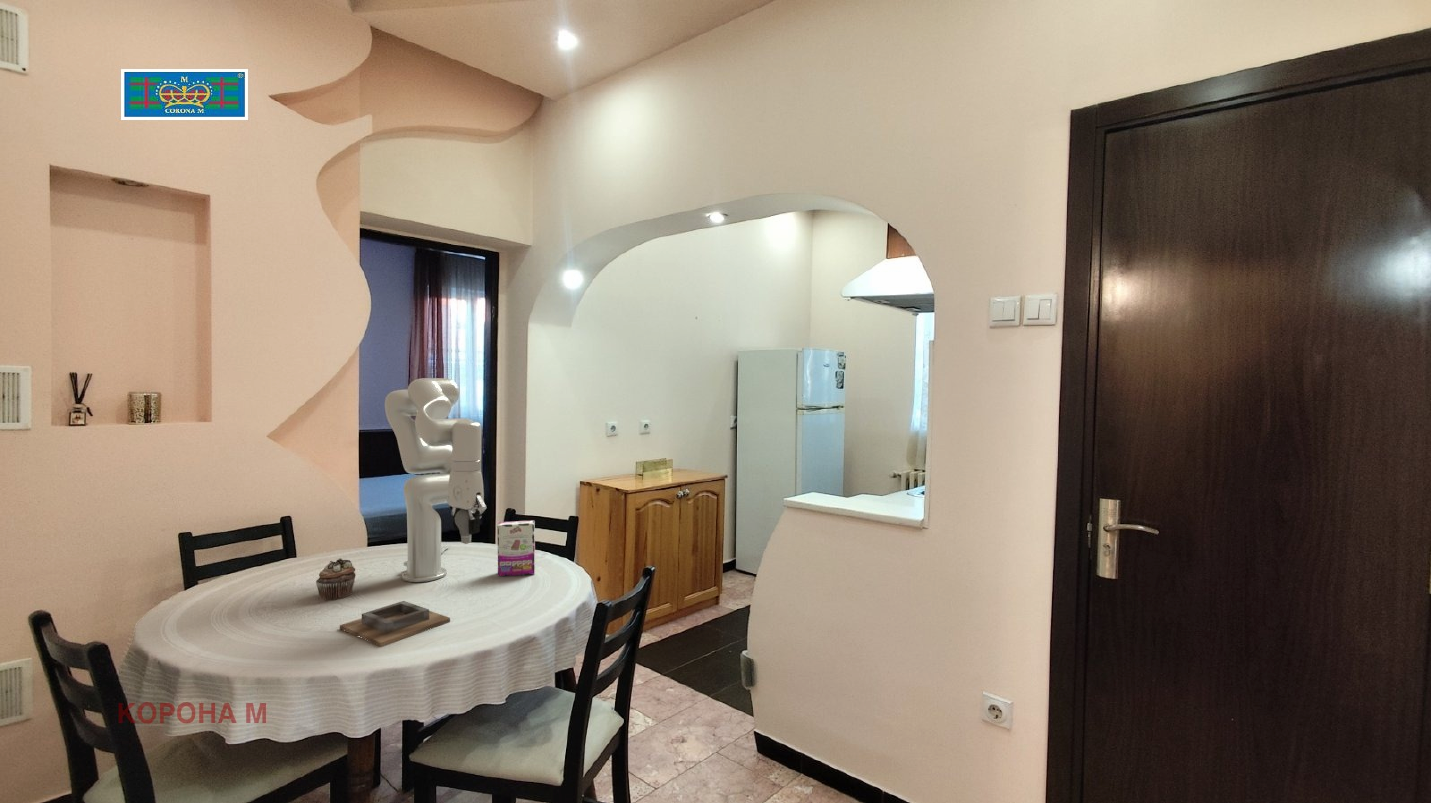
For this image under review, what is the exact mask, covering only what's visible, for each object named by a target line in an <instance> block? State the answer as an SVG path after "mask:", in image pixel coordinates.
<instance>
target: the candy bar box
mask: <svg viewBox="0 0 1431 803" xmlns="http://www.w3.org/2000/svg"><path fill="white" fill-rule="evenodd" d="M535 523H536V522H535V520H518V521H514V520H513V521H500V522H498V524H497V576H498V577H499V576H501V577H513V576H515V577H516V576H517V577H518V576H525V575H526V576H530V574H532V575H535V570H536V539H535V538H536V535H535V534H536V533H535V531H536V530H535V525H536V524H535Z"/></svg>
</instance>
